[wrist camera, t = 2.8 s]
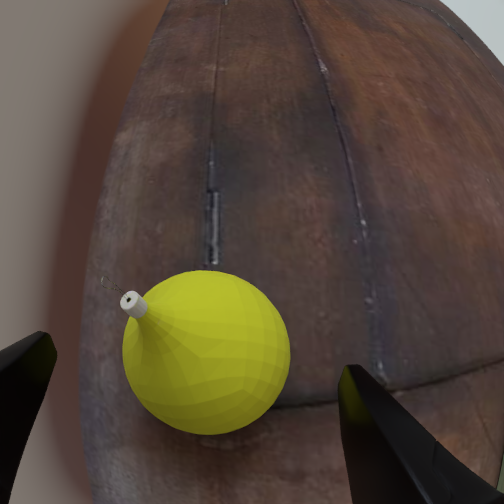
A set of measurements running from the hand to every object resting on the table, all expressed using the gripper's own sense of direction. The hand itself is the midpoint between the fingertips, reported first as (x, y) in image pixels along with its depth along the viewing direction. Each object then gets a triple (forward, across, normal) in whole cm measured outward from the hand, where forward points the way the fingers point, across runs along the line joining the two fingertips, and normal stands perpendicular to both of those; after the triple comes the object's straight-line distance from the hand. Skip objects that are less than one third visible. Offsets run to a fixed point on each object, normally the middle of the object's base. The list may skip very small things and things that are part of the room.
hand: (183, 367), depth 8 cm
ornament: (+6, 0, +6) cm, 9 cm away
